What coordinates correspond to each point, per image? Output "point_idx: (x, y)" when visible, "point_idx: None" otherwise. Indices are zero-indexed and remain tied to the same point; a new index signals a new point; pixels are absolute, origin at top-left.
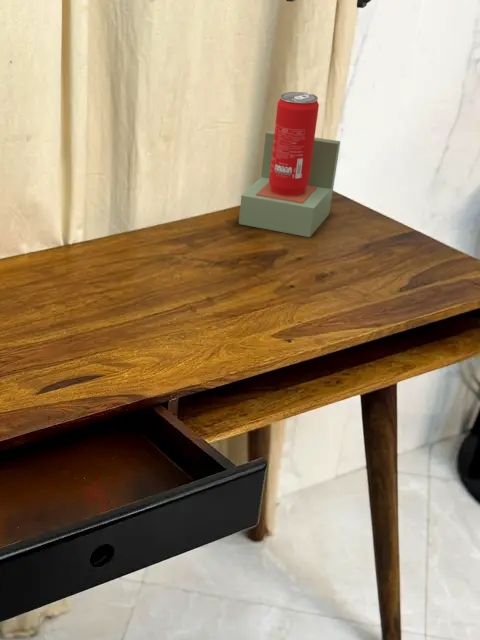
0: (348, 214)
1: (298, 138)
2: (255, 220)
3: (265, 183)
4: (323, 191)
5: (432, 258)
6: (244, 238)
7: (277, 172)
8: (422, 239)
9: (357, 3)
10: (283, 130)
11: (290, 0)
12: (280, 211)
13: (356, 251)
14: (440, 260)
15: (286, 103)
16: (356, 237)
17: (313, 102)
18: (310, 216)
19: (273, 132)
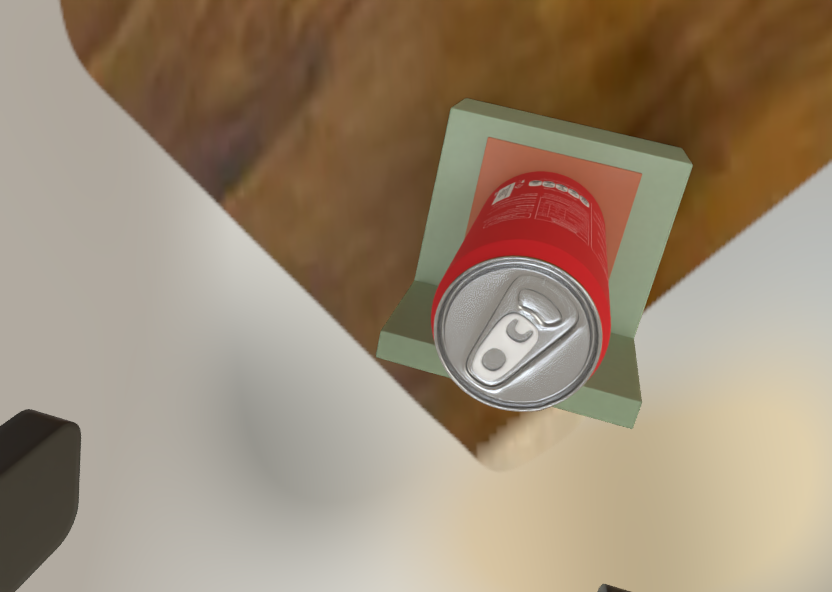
0: (378, 288)
1: (508, 212)
2: (631, 139)
3: (616, 285)
4: (434, 254)
5: (150, 41)
6: (658, 41)
7: (578, 192)
8: (187, 161)
9: (54, 423)
10: (570, 228)
11: (616, 588)
12: (556, 127)
13: (333, 33)
14: (131, 33)
15: (568, 271)
16: (343, 133)
17: (448, 288)
18: (462, 105)
19: (612, 409)
